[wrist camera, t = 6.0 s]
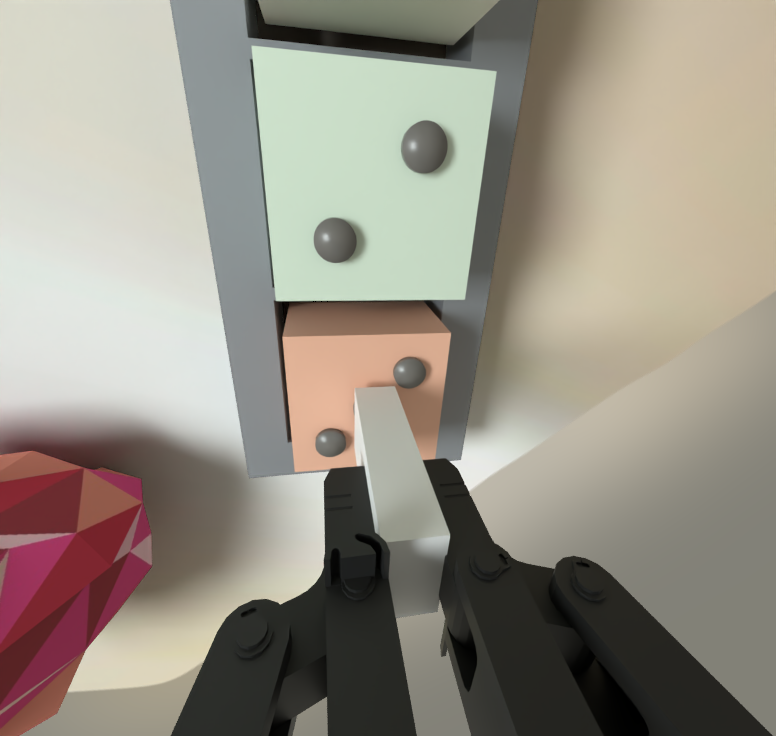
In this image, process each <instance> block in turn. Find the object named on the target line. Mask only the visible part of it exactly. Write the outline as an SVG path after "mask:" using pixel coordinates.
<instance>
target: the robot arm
mask: <svg viewBox="0 0 776 736" xmlns="http://www.w3.org/2000/svg"><path fill="white" fill-rule="evenodd" d="M354 448H355V456H356V463H357V466H355V467H342V468H331V469H330V471H329V473H328V475H327V477H326V479H325V481H324V510H325V557H324V569H323V571H322V574H321V576H320V577H319V579H318V580H317V582H316V583H315V584H314V585H313V586H312V587H311V588H310V589H309V590H308V591H306V592H304V593H303V594H301V595H299V596H298V597H295V598H293V599H291V600H289V601H287V602H285V603H283V604H281V605H280V604H279V603H277V602H274V601H271V600H268V599H261V600H252V601H250V602H248V603H246V604H244V605H241V606H239V607H238V608H237V609H236V610H235V611H233V612H232V613H231V614H230V615H229V616H228V617H227V618H226V619H225V621H224V622H223V624H222V625H221V627H220V629H219V630H218V632H217V634H216V636H215V638H214V641H213V643H212V645H211V647H210V650H209V652H208V654H207V656H206V658H205V661H204V663H203V665H202V668H201V670H200V672H199V674H198V676H197V678H196V681H195V683H194V685H193V688H192V690H191V692H190V694H189V697H188V699H187V701H186V703H185V705H184V707H183V710H182V712H181V714H180V716H179V719H178V721H177V723H176V726H175V727H174V730H173V732H172V735H171V736H292V735H293V730H294V726H295V722H296V716H297V715H298V714H300V713H301V712H303V711H305V710H306V709H307V708H309V707H311V706H312V705H314V704H316V703H317V702H319V701H320V700H322V699H324V698H325V697H327V713H328V736H417V735H416V729H415V723H414V718H413V712H412V707H411V701H410V695H409V690H408V684H407V679H406V673H405V667H404V662H403V656H402V651H401V645H400V639H399V634H398V628H397V623H396V618H400V617H407V616H414V615H420V614H426V613H433V612H438V606H439V600H440V601H441V604H442V608H443V611H444V615H445V623H444V629H443V634H442V639H441V645H440V647H441V656H446V652H447V648H448V652H449V656H450V659H451V663H452V666H453V670H454V674H455V678H456V681H457V685H458V689H459V692H460V696H461V699H462V703H463V707H464V710H465V714H466V718H467V722H468V725H469V729H470V732H471V736H772V735H771V734H770V733H769V732H768V731H767V730H766V729H765V728H764V727H763V726H762V725H761V724H760V723H759V722H758V721H757V720H756V719H755V718H754V717H753V716H752V715H751V714H750V713H749V712H748V711H747V710H746V709H745V708H744V707H743V706H742V705H741V704H740V703H739V702H738V701H737V700H736V699H735V698H734V697H733V696H732V695H731V694H730V693H729V692H728V691H727V690H726V689H725V688H724V687H723V686H722V685H721V684H720V683H719V682H718V681H717V680H716V679H715V678H714V677H713V676H712V675H711V674H710V673H709V672H708V671H707V670H706V669H705V668H704V667H703V666H702V665H701V664H700V663H699V662H698V661H697V660H696V659H695V658H694V657H693V656H692V655H691V654H690V653H689V652H688V651H687V650H686V649H685V648H684V647H683V646H682V645H681V644H680V643H679V642H678V641H677V640H676V639H675V638H674V637H673V636H672V635H671V634H670V633H669V632H668V631H667V630H666V629H665V628H664V627H663V626H662V625H661V624H660V623H659V622H658V621H657V620H656V619H655V618H654V617H653V616H651V614H650V613H649V612H648V611H647V610H646V609H644V607H643V606H642V605H641V604H640V603H639V602H638V601H637V600H636V599H635V598H634V597H632V595H631V594H630V593H629V592H628V591H627V590H626V589H625V588H624V587H623V586H622V585H621V584H619V582H618V581H617V580H616V579H614V577H613V576H612V575H611V574H610V573H608V572H607V571H606V570H605V569H603V568H602V567H601V566H599V565H598V564H596V563H594V562H592V561H590V560H588V559H586V558H581V557H576V556H571V557H565V558H563V559H561V560H560V561H559V562H558V563H557V564H556V567H555V569H552V568H547V567H541V566H536V565H531V564H526V563H523V562H519V561H517V560H515V559H513V558H511V556H510V555H509V554H508V552H507V551H505V550H504V549H503V548H501V547H500V546H499V545H497V544H495V543H494V542H493V541H492V538H491V537H490V535H489V533H488V531H487V528H486V527H485V524H484V522H483V520H482V518H481V516H480V514H479V512H478V510H477V508H476V506H475V504H474V502H473V500H472V498H471V496H470V495H469V491H468V489H467V487H466V485H464V481H463V479H462V477H461V475H460V473H459V471H458V469H457V468H456V467H455V466H454V465H453V464H452V463H451V462H449V461H448V460H447V459H446V458H441V459H429V460H422V458H421V455H420V452H419V449H418V447H417V444H416V441H415V439H414V436H413V433H412V431H411V428H410V425H409V423H408V420H407V417H406V415H405V412H404V409H403V407H402V404H401V401H400V398H399V396H398V393H397V390H396V388H395V386H388V387H365V388H355V430H354Z"/></svg>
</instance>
